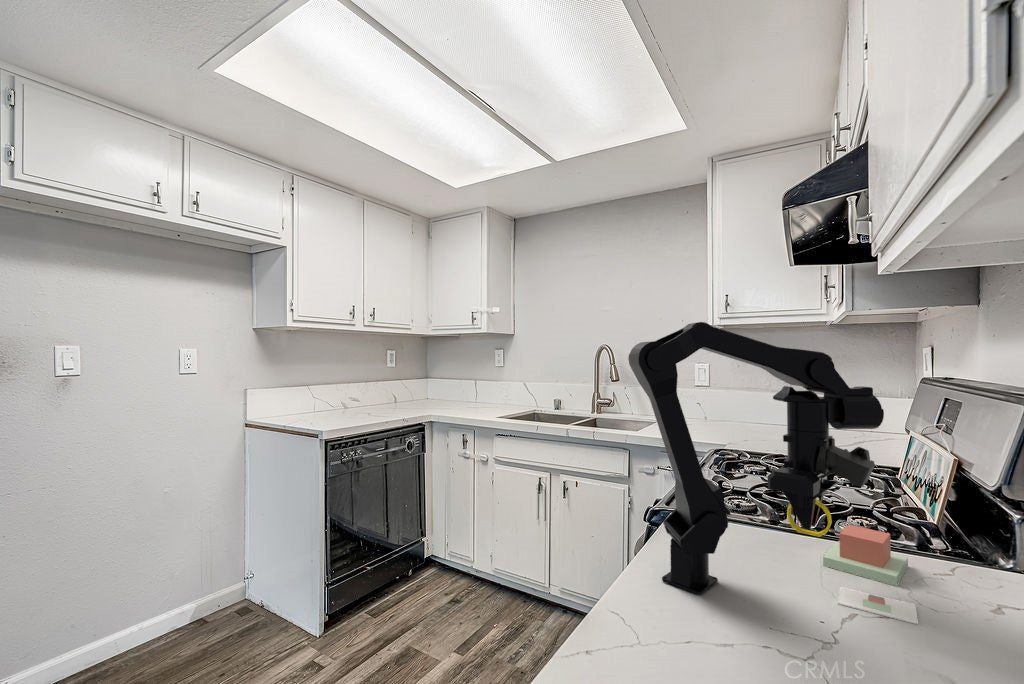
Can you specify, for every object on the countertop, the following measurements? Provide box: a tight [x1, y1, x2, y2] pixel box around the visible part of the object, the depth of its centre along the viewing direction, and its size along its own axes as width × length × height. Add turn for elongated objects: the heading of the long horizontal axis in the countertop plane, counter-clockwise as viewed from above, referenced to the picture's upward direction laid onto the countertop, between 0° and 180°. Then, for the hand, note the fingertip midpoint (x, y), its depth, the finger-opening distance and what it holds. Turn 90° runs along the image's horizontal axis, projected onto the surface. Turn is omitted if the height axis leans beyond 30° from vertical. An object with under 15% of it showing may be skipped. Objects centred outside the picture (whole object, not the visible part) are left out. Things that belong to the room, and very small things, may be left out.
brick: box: [838, 524, 892, 568], centre depth 83 cm, size 6×6×4 cm
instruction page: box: [837, 586, 919, 626], centre depth 70 cm, size 6×9×1 cm, turn 53°
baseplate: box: [822, 540, 909, 587], centre depth 83 cm, size 10×10×2 cm
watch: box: [786, 497, 833, 538], centre depth 78 cm, size 6×3×6 cm, turn 49°
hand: (809, 526), depth 78 cm, fingers closed on watch, 2 cm apart
